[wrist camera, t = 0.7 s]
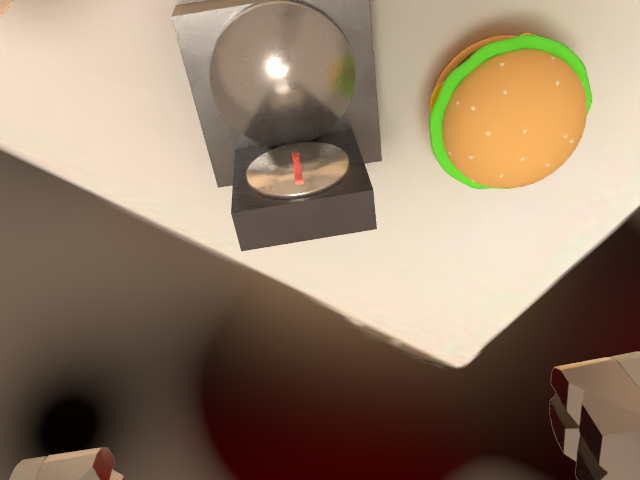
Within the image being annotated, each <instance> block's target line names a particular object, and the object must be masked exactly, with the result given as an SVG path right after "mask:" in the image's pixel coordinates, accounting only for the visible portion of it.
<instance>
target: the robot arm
mask: <svg viewBox="0 0 640 480" xmlns="http://www.w3.org/2000/svg"><path fill="white" fill-rule="evenodd" d="M551 384H552V386H553V388H554V389H555V391H556V395H555V396H554V397H553V398H552V399H551V400H550V418H551V423H552V428H553V431H554V434H555V436H556V439H557V442H558V443H559V445H560V447H561V449H562V451H563V453H564V454H565V455H567V456H568V457H570V458H572V459H573V460H575V461H576V474H575V475H576V477H577V479H578V480H640V352H633V353H628V354H623V355H618V356H612V357H609V358H608V357H605V358H600V359H595V360H590V361H584V362H579V363H574V364H568V365H563V366H558V367H554V369H553V371H552V373H551ZM114 462H115V459H114V457H113V456H112V454H111V452H110V450H109V449H108V448H96V449H89V450H83V451H76V452H69V453H63V454H56V455H50V456H46V457H40V458H33V459H26V460H22V461H21V462H20V463H19V464H18V465H17V466H16V467H15V469H14V471H13V473H12V475H11V477H10V479H9V480H125V478H124V476H123V475H121V474H119V473H117V472H115V471H113V470H112V469H113V465H114Z"/></svg>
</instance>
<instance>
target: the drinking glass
mask: <svg viewBox="0 0 640 480" xmlns="http://www.w3.org/2000/svg"><path fill="white" fill-rule="evenodd" d="M13 2H14V0H0V17H1V15H2V14H3V13H4V12H5V11H6V10H7V8H8V7H9V6H10V5H11V4H12V3H13Z"/></svg>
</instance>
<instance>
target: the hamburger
mask: <svg viewBox="0 0 640 480" xmlns="http://www.w3.org/2000/svg"><path fill="white" fill-rule="evenodd" d="M591 103H592V95H591V90H590V85H589V81H588V77H587V72H586V68H585V66H584V64H583V62H582V61H581V60H580V59H579V57H578V56H577V55H576V54H575V53H574V52H573V51H571V50H570V49H569V48H568V47H566V46H565V45H564V44H562V43H560V42H557V41H555V40H552V39H548V38H545V37H541V36H537V35H534V34H532V33H528V32H524V33H523V34H521V35H520V36H514V35H501V36H494V37H490V38H487V39H484V40H481V41H478V42H476V43H474V44H472V45H470V46H469V47H467V48H466V49H464V50H463V51H462V52H460V53H459V54H458V55H457V56H456V57H455V58H454V59H453V60H452V61H451V62H450V63H449V64H448V65H447V66H446V68H445V69H444V70H443V72H442V73H441V75H440V77H439V79H438V81H437V83H436V85H435V88H434V90H433V92H432V94H431V97H430V110H431V115H430V122H429V126H430V138H431V146H432V150H433V153H434V155H435V157H436V159H437V161H438V162H439V164H440V165H441V167H442V168H443V169H444V171H445V172H447V173H448V174H449V175H450V176H452V177H454V178H455V179H457V180H459V181H460V182H462V183H464V184H466V185H468V186H470V187H472V188H476V189H485V188H500V189H509V188H517V187H523V186H526V185H529V184H533V183H535V182H537V181H539V180H541V179H543V178H545V177H547V176H548V175H550V174H551V173H553V172H554V171H555V170H557V169H558V168H559V167H560V166H561V165H562V164H563V163H564V162H565V161H566V160H567V159H568V158H569V157H570V156H571V154H572V153H573V151H574V150H575V149H576V147H577V145H578V143H579V141H580V139H581V137H582V134H583V131H584V128H585V122H586V116H587V114H588V111H589V109H590V107H591Z"/></svg>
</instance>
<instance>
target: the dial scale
mask: <svg viewBox="0 0 640 480" xmlns="http://www.w3.org/2000/svg"><path fill="white" fill-rule="evenodd" d="M171 18H172V21H173V25H174V29H175V32H176V36H177V40H178V43H179V47H180V51H181V54H182V58H183V61H184V65H185V69H186V72H187V76H188V80H189V83H190V87H191V91H192V94H193V98H194V102H195V105H196V109H197V112H198V116H199V120H200V123H201V127H202V131H203V134H204V138H205V142H206V145H207V149H208V152H209V156H210V160H211V163H212V167H213V171H214V174H215V178H216V182H217V185H218V187H224V186H230V185H233V192H232V209H231V214H232V218H233V222H234V225H235V229H236V233H237V237H238V240H239V244H240V248H241V251H246V250H252V249H258V248H264V247H270V246H276V245H282V244H288V243H294V242H300V241H307V240H313V239H319V238H325V237H331V236H337V235H343V234H349V233H355V232H361V231H367V230H373V229H377V226H376V215H375V204H374V193H373V188H372V185H371V182H370V179H369V176H368V173H367V170H366V167H365V164H364V163H370V162H377V161H382V157H381V144H380V131H379V118H378V105H377V92H376V80H375V67H374V54H373V41H372V28H371V16H370V3H369V0H208V1H202V2H196V3H190V4H184V5H177V6H176V7H175V10H174V12H173V14H172V16H171Z"/></svg>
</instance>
